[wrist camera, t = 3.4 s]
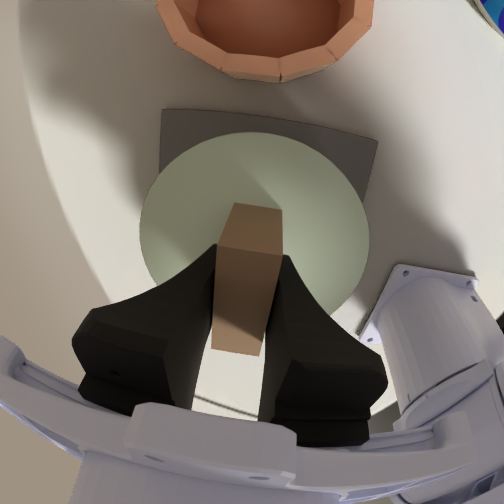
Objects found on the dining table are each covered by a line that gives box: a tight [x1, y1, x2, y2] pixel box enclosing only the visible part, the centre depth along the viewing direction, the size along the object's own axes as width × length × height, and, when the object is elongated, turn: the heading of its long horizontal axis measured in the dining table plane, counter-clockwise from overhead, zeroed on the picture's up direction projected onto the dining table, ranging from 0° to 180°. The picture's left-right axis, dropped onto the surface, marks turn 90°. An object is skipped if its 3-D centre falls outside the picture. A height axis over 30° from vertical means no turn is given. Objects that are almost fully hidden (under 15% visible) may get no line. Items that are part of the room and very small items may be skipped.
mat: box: [159, 109, 378, 203], centre depth 16 cm, size 12×12×1 cm
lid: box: [140, 132, 369, 356], centre depth 11 cm, size 11×11×4 cm
